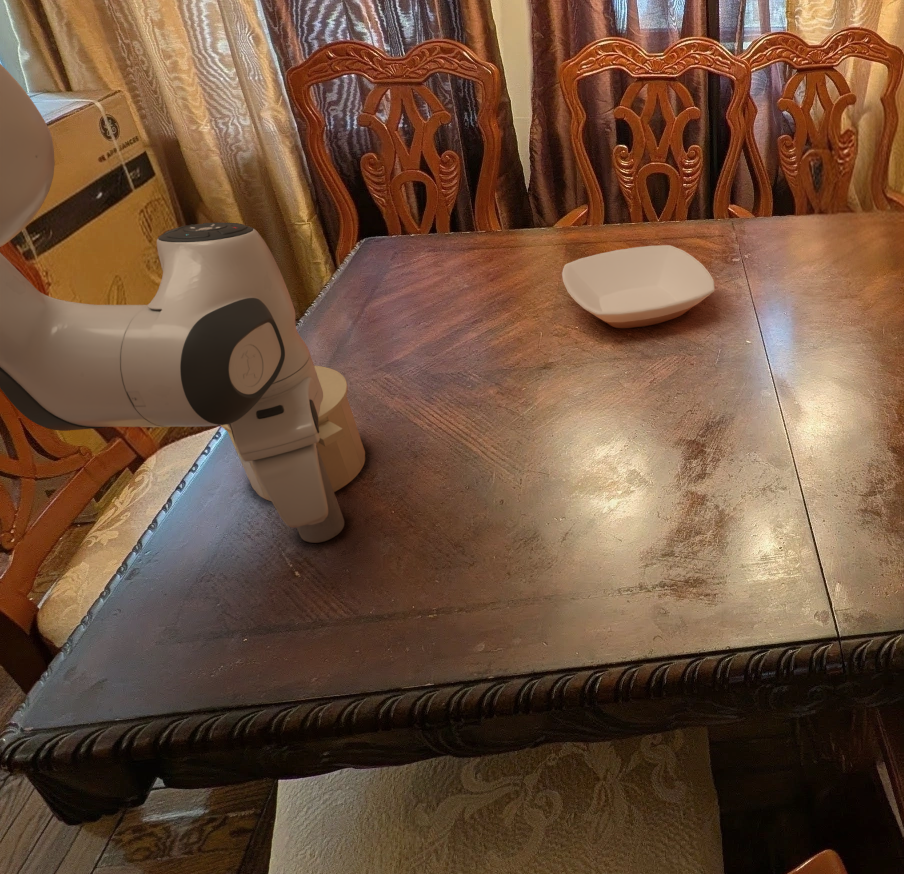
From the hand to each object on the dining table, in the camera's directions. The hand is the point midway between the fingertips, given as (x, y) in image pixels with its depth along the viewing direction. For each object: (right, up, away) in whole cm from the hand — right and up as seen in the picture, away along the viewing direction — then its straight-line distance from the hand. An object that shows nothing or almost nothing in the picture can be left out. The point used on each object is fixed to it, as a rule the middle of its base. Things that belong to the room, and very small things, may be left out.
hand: (312, 502), depth 83 cm
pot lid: (-5, +11, +5) cm, 13 cm away
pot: (-5, +3, +11) cm, 12 cm away
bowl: (+32, +27, +41) cm, 58 cm away
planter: (0, -3, +2) cm, 4 cm away
